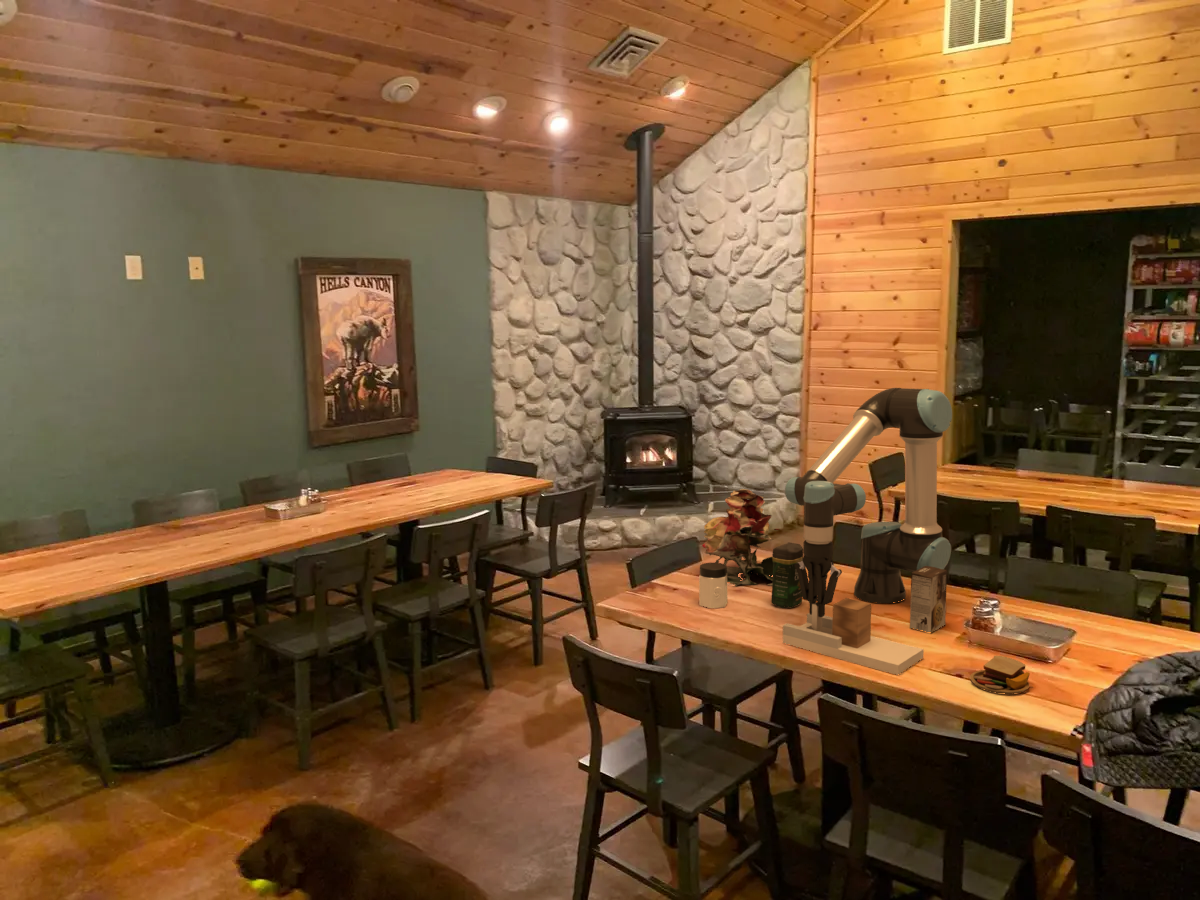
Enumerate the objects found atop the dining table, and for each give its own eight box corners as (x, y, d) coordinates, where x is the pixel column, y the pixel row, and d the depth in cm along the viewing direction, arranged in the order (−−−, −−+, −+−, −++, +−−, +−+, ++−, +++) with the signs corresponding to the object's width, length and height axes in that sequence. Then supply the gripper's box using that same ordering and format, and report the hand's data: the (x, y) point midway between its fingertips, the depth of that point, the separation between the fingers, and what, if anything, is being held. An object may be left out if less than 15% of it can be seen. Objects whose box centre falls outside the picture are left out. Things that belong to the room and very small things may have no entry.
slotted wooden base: (923, 658, 217) (923, 639, 216) (898, 675, 207) (898, 655, 206) (810, 629, 239) (810, 612, 238) (782, 643, 229) (782, 625, 228)
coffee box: (923, 620, 244) (925, 565, 242) (946, 625, 240) (948, 569, 238) (908, 628, 238) (910, 572, 236) (931, 634, 234) (933, 576, 231)
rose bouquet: (767, 563, 306) (767, 480, 302) (790, 587, 277) (791, 496, 273) (695, 566, 305) (695, 482, 300) (711, 591, 276) (711, 498, 271)
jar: (703, 610, 257) (703, 570, 256) (694, 601, 265) (694, 563, 264) (732, 607, 259) (732, 568, 258) (722, 599, 267) (722, 561, 266)
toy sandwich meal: (958, 682, 203) (959, 663, 202) (993, 669, 210) (994, 651, 209) (1007, 701, 192) (1008, 681, 192) (1043, 687, 199) (1044, 667, 199)
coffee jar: (791, 610, 255) (791, 549, 252) (767, 605, 260) (767, 545, 257) (806, 602, 262) (807, 543, 260) (783, 597, 267) (783, 539, 265)
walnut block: (870, 640, 223) (871, 603, 221) (857, 648, 218) (858, 610, 216) (845, 634, 228) (846, 598, 226) (832, 641, 223) (832, 604, 221)
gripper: (848, 541, 224) (846, 629, 228) (803, 534, 233) (802, 618, 237) (833, 547, 219) (831, 636, 222) (788, 539, 228) (787, 625, 231)
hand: (816, 627), depth 229 cm, fingers closed
